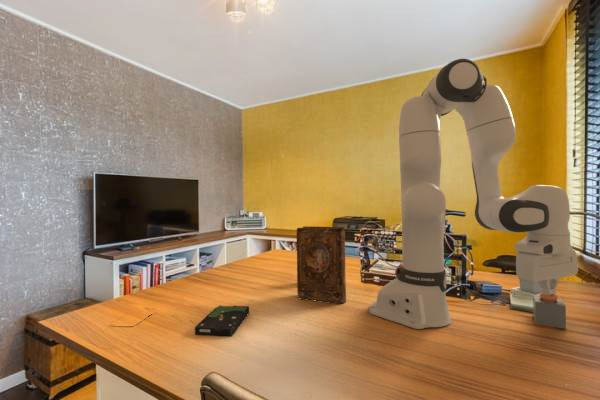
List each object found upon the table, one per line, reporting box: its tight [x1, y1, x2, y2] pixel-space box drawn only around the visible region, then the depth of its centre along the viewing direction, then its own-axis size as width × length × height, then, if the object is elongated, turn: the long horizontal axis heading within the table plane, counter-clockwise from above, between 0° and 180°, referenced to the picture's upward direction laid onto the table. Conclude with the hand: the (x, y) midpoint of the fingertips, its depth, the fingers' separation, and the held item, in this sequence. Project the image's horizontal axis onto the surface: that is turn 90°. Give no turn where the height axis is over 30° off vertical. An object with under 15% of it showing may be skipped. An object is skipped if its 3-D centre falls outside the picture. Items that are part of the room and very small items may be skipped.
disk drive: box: [194, 305, 250, 338], centre depth 79 cm, size 10×3×15 cm
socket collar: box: [510, 286, 540, 297], centre depth 95 cm, size 8×8×2 cm
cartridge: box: [519, 280, 542, 295], centre depth 95 cm, size 4×4×13 cm
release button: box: [540, 292, 558, 302], centre depth 76 cm, size 4×4×6 cm
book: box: [296, 225, 347, 305], centre depth 96 cm, size 16×6×25 cm, turn 68°
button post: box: [532, 295, 567, 330], centre depth 76 cm, size 6×6×6 cm
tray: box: [509, 293, 533, 313], centre depth 86 cm, size 10×10×2 cm
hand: (548, 294), depth 75 cm, fingers closed, pressing on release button
